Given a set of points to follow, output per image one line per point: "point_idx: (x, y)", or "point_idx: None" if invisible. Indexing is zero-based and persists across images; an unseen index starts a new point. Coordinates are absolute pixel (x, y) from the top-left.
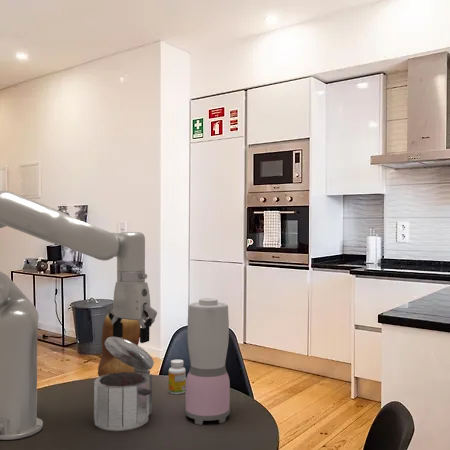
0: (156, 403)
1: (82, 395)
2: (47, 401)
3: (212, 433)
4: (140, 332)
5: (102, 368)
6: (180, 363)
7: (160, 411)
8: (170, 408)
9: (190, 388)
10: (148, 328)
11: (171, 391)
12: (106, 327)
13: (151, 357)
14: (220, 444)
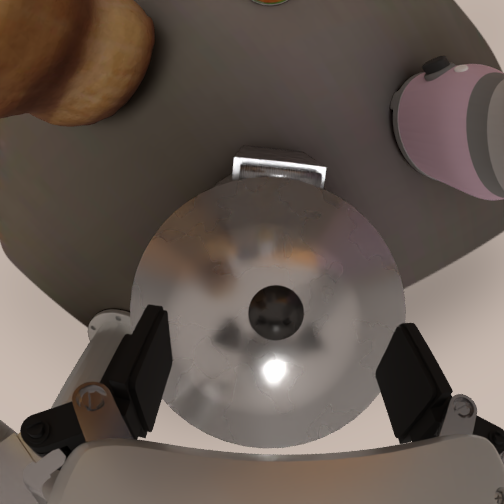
0: (271, 83)
1: (63, 147)
2: (43, 220)
3: (464, 207)
4: (395, 420)
5: (54, 124)
6: None
7: (318, 132)
8: (331, 102)
9: (460, 189)
10: (446, 404)
11: (266, 3)
12: None
13: (404, 298)
14: (479, 243)
